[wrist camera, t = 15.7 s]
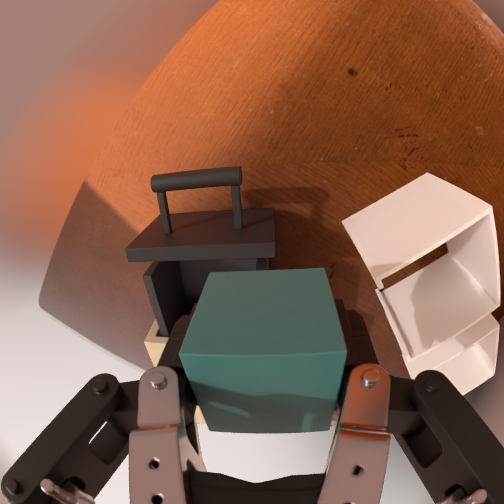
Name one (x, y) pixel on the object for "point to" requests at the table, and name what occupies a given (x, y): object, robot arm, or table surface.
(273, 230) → the drawer
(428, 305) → the white desk organizer
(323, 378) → the block
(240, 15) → the table surface
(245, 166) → the table surface
